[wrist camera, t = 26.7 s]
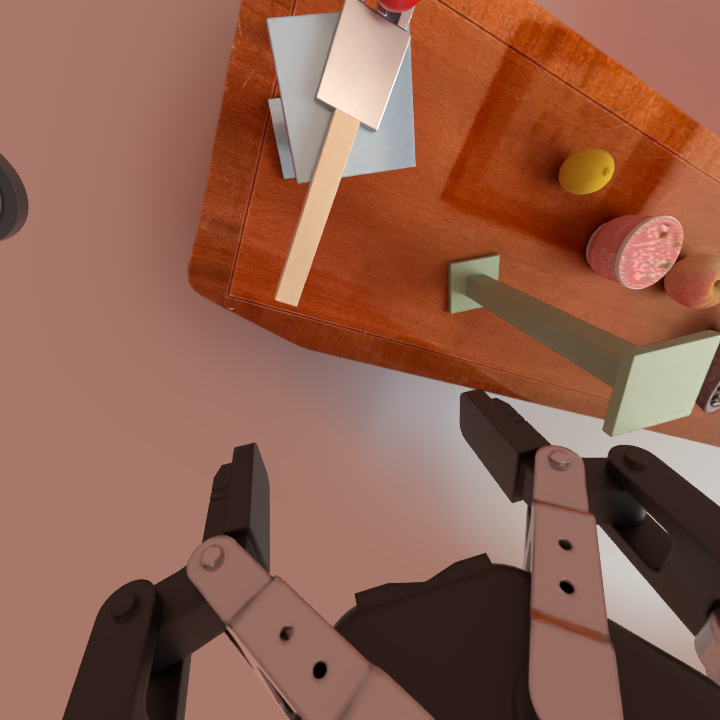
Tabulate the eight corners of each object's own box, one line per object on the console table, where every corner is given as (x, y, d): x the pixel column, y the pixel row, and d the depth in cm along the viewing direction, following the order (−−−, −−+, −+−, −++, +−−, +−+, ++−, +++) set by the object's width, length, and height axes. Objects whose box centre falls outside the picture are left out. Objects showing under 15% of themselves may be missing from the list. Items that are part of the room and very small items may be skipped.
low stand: (283, 178, 44) (297, 184, 23) (267, 100, 41) (265, 17, 19) (346, 169, 45) (415, 166, 24) (336, 92, 42) (409, 5, 20)
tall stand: (448, 311, 58) (611, 437, 30) (448, 262, 54) (634, 355, 27) (493, 302, 59) (690, 415, 32) (496, 253, 55) (723, 333, 28)
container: (615, 280, 63) (658, 293, 56) (567, 272, 60) (606, 284, 53) (646, 217, 58) (697, 222, 51) (596, 204, 55) (643, 209, 48)
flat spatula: (311, 306, 27) (316, 324, 24) (257, 289, 25) (255, 306, 22) (431, -27, 20) (462, -65, 16) (366, -77, 18) (386, -129, 15)
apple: (671, 304, 68) (716, 319, 61) (643, 288, 65) (688, 301, 58) (704, 261, 65) (756, 272, 58) (677, 242, 62) (729, 250, 55)
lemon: (565, 141, 50) (613, 135, 43) (587, 165, 52) (636, 164, 45) (539, 178, 52) (581, 179, 45) (561, 200, 54) (604, 204, 47)
